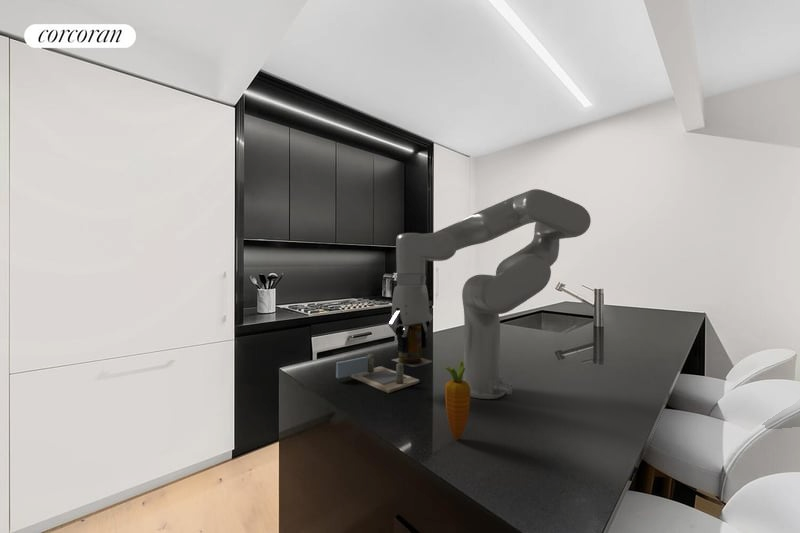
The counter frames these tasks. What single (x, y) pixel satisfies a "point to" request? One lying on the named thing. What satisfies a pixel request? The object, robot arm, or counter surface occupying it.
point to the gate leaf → (351, 367)
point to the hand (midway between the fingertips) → (412, 348)
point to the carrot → (457, 401)
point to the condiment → (413, 348)
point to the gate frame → (385, 377)
